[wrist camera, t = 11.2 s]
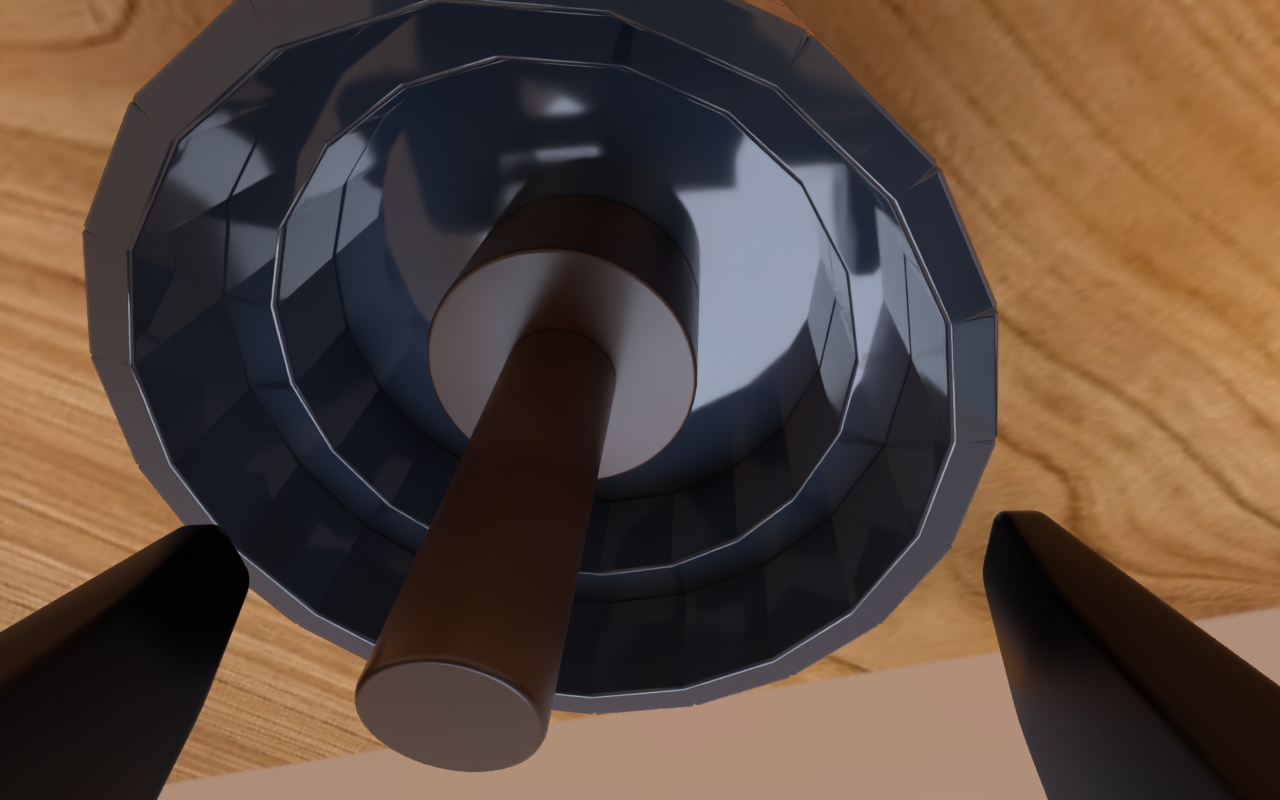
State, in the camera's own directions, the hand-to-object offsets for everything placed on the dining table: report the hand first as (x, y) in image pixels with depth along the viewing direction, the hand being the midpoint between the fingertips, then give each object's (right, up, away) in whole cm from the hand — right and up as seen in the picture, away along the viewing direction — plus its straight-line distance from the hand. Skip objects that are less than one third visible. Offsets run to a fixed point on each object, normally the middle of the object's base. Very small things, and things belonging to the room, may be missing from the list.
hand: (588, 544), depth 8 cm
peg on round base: (0, +3, +5) cm, 6 cm away
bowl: (0, +4, +6) cm, 7 cm away
